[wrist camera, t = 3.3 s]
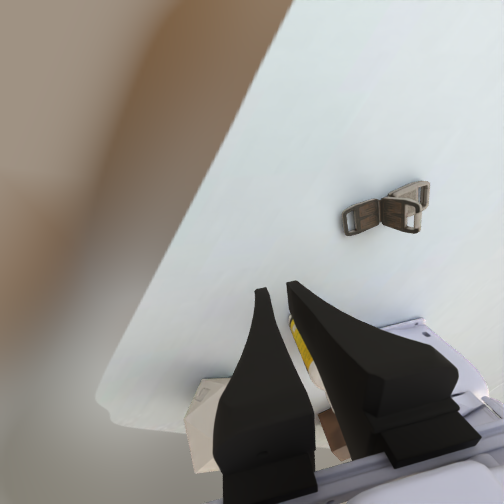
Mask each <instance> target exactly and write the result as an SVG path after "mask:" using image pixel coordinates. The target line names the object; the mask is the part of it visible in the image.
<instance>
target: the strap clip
mask: <svg viewBox="0 0 504 504" xmlns="http://www.w3.org/2000/svg"><path fill="white" fill-rule="evenodd" d="M419 187H421V192H420V203H419V202H418V188H419ZM429 191H430V183H429V182H428V181H418V182H412V183H410V184H407V185H405V186H403V187H401V188H398V189H396V190H394V191H392V192H390V193H389V194H388V197H384V198H382V199H381V200H378V199H375V198H373V199H370V200H367V201H364V202H361V203H358V204H355V205H352V206H350V207H349V208H347V209H345V210H344V211H343V212H342V220H343V227H344V233H345V235H347V236H352V235H356V234H359V233H361V232H364V231H366V230H368V229H370V228H373V227H375V226H377V225H379V222H382V224H383V225H385V226H388V227H391V228H394V229H397V230H400V231H402V232H407V233H413V234H415V233H418V232H420V230H421V216H422V211H423V210H425V209H426V208H427V207H428V204H429ZM353 210H354V219H355V228H356V229H355V230H352V231H349V232H348V225H347V217H346V215H347V213H349V212H351V211H353ZM412 215H414V228H413V227H409V226H407V217H409V216H412Z"/></svg>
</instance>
